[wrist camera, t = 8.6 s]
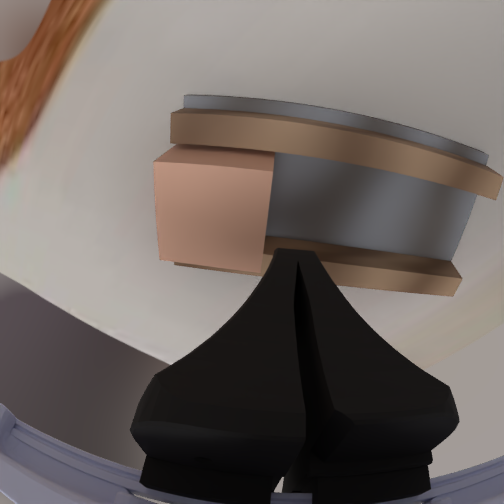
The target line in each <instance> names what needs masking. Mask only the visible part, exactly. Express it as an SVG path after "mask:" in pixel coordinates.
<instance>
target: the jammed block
mask: <svg viewBox="0 0 504 504" xmlns="http://www.w3.org/2000/svg"><path fill="white" fill-rule="evenodd" d="M274 158H275V152H272V151H264V150H255V149H245V148H234V147H223V146H209V145H194V144H176V145H175V146H174V147H172V148H171V149H170V150H168V151H167V152H166V153H164V154H163V155H162V156H160V157H159V158H158V159H156V160H155V161H154V189H155V207H156V222H157V235H158V247H159V257H160V260H165V261H173V262H180V263H187V264H195V265H202V266H210V267H217V268H225V269H233V270H240V271H248V272H256V273H261V265H262V258H263V250H264V242H265V234H266V226H267V218H268V210H269V202H270V194H271V186H272V177H273V168H274Z"/></svg>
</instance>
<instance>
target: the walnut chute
mask: <svg viewBox="0 0 504 504" xmlns="http://www.w3.org/2000/svg"><path fill="white" fill-rule="evenodd" d="M170 143H173V144H194V145H209V146H223V147H234V148H245V149H255V150H264V151H272V152H275V158H274V168H273V177H272V186H271V194H270V202H269V210H268V218H267V226H266V234H265V242H264V250H263V258H262V265H261V273H256V272H248V271H240V270H233V269H225V268H217V267H210V266H202V265H195V264H187V263H180V262H174V265H179V266H186V267H193V268H201V269H208V270H216V271H223V272H231V273H239V274H247V275H255V276H263V275H264V274H265V272H266V270H267V269H268V267H269V264H270V262H271V260H272V258H273V254H274V250H275V249H277V248H286V249H298V250H309V251H314V252H315V253H316V254H317V256H318V258H319V260H320V261H321V263H322V265H323V266H324V268H325V269H326V271H327V272H328V274H329V276H330V277H331V279H332V280H333V281H334V283H335V284H336V285H340V286H349V287H359V288H368V289H378V290H388V291H398V292H408V293H419V294H430V295H441V296H454V294H455V292H456V290H457V288H458V286H459V284H460V283H461V281H462V277H461V276H460V274H459V273H458V271H457V270H456V268H455V267H454V265H453V264H452V262H451V260H452V257H453V255H454V253H455V251H456V248H457V246H458V244H459V241H460V239H461V236H462V234H463V231H464V229H465V226H466V224H467V221H468V219H469V216H470V213H471V210H472V208H473V205H474V202H475V199H476V196H477V195H481V196H484V197H487V198H490V199H493V200H496V199H497V196H498V193H499V190H500V187H501V184H502V181H503V176H501V175H500V174H498V173H497V172H495V171H494V170H492V169H491V168H489V167H488V166H486V164H487V160H488V156H489V155H487V154H486V153H484V152H481V151H479V150H476V149H474V148H471V147H468V146H466V145H463V144H460V143H457V142H455V141H452V140H449V139H446V138H443V137H440V136H437V135H434V134H431V133H428V132H424V131H421V130H418V129H414V128H411V127H408V126H404V125H400V124H397V123H393V122H389V121H385V120H381V119H377V118H373V117H368V116H364V115H360V114H355V113H350V112H345V111H340V110H335V109H329V108H324V107H318V106H312V105H305V104H298V103H291V102H284V101H275V100H266V99H256V98H244V97H230V96H211V95H184V108H183V109H180V110H178V111H175V112H173V113H171V133H170Z"/></svg>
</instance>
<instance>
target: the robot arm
mask: <svg viewBox="0 0 504 504" xmlns="http://www.w3.org/2000/svg"><path fill="white" fill-rule="evenodd" d="M458 423H459V416H458V412H457V408H456V404H455V401H454V398H453V395H452V392H451V390H450V387H449V386H448V385H446V384H444V383H443V382H441V381H439V380H438V379H436V378H435V377H433V376H431V375H430V374H428V373H427V372H425V371H423V370H422V369H420V368H419V367H418V366H416V365H415V364H414V363H412V362H411V361H410V360H408V359H407V358H405V357H404V356H403V355H402V354H400V353H399V352H398V351H397V350H395V349H394V348H393V347H392V346H391V345H390V344H388V343H387V342H386V341H385V340H384V339H383V338H382V337H381V336H379V335H378V334H377V333H376V332H375V331H374V330H373V329H372V328H371V327H370V326H369V325H368V324H367V323H366V322H365V321H364V319H363V318H362V317H361V316H360V315H359V314H358V313H357V312H356V311H355V310H354V308H353V307H352V306H351V305H350V303H349V302H348V301H347V300H346V298H345V297H344V296H343V294H342V293H341V291H340V290H339V289H338V287H337V286H336V284H335V283H334V281H333V280H332V279H331V277H330V276H329V274H328V272H327V271H326V269H325V268H324V266H323V265H322V263H321V261H320V260H319V258H318V256H317V254H316V253H315V252H314V251H309V250H298V249H286V248H277V249H275V250H274V254H273V258H272V260H271V262H270V264H269V267H268V269H267V270H266V272H265V274H264V275H263V277H262V279H261V281H260V282H259V284H258V285H257V287H256V288H255V289H254V291H253V292H252V294H251V295H250V296H249V298H248V299H247V300H246V301H245V303H244V304H243V305H242V306H241V307H240V309H239V310H238V311H237V312H236V313H235V314H234V315H233V316H232V317H231V318H230V319H229V320H228V321H227V322H226V323H225V324H224V325H223V326H222V327H221V328H220V329H219V330H218V331H217V332H216V333H215V334H213V335H212V336H211V337H210V338H209V339H207V340H206V341H205V342H203V343H202V344H201V345H199V346H198V347H197V348H196V349H194V350H193V351H192V352H190V353H189V354H187V355H186V356H185V357H183V358H182V359H180V360H178V361H177V362H175V363H173V364H172V365H170V366H169V367H167V368H166V369H164V370H162V371H160V372H158V373H157V374H155V375H154V377H153V378H152V380H151V382H150V384H149V385H148V386H147V389H146V390H145V392H144V394H143V396H142V398H141V399H140V402H139V404H138V407H137V410H136V413H135V416H134V419H133V422H132V425H131V428H130V431H131V434H132V436H133V438H134V439H135V441H136V442H137V443H138V444H139V446H140V447H141V448H142V450H143V451H144V452H145V453H146V454H147V456H146V459H145V463H144V467H143V470H142V471H140V470H137V469H134V468H130V467H127V466H124V465H121V464H118V463H115V462H112V461H109V460H106V459H103V458H101V457H98V456H95V455H93V454H90V453H87V452H85V451H82V450H80V449H78V448H75V447H73V446H70V445H68V444H66V443H64V442H61V441H59V440H57V439H55V438H53V437H51V436H49V435H46V434H45V433H42V432H41V431H38V430H36V429H35V428H33V427H31V426H29V425H27V424H25V423H23V422H22V421H20V420H18V419H16V417H15V416H14V415H13V413H12V412H11V411H10V410H8V409H7V408H6V407H5V406H4V405H3V404H1V403H0V492H2V493H3V494H4V495H5V496H7V497H8V498H9V499H10V500H12V501H13V502H14V503H15V504H157V503H154V502H151V501H148V500H145V499H142V498H139V497H136V496H134V494H136V495H140V496H143V497H147V498H150V499H154V500H158V501H161V502H165V503H170V504H421V503H422V504H504V456H501V457H499V458H496V459H494V460H491V461H488V462H485V463H482V464H480V465H477V466H474V467H471V468H467V469H464V470H461V471H458V472H454V473H451V474H447V475H443V476H439V477H436V478H431V479H430V477H429V470H428V465H429V464H431V463H432V461H433V458H432V452H431V450H432V449H433V448H435V447H436V446H437V445H439V444H440V443H441V442H442V441H444V440H445V439H446V438H447V437H448V436H449V435H450V434H451V433H452V432H453V431H454V430H455V429H456V427H457V425H458ZM282 477H284V481H283V488H282V493H275V492H274V490H275V488H276V486H277V484H278V483H279V481H280V480H281V478H282Z"/></svg>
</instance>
